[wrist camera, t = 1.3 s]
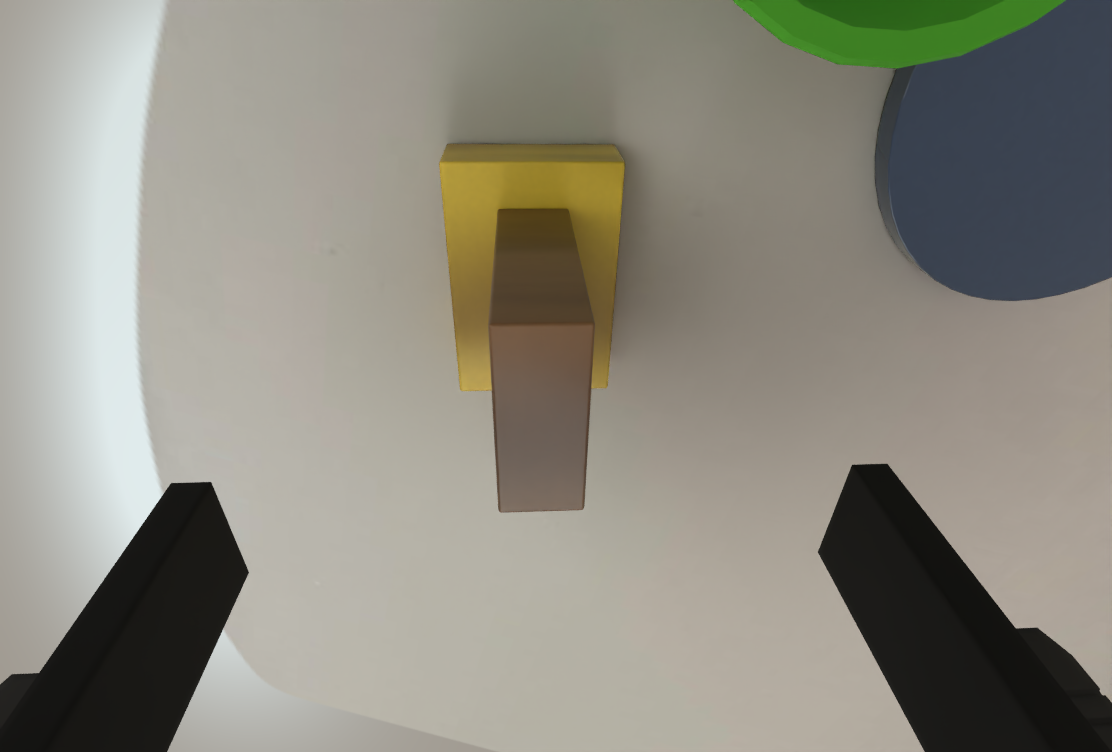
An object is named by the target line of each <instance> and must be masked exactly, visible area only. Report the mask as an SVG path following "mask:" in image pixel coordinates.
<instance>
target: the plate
mask: <svg viewBox="0 0 1112 752" xmlns="http://www.w3.org/2000/svg"><path fill="white" fill-rule="evenodd" d="M875 183H876V190H877V196H878V202H879V207H880V210H881V213H882V216H883V219H884V222H885V225H886V228H887V229H888V231H889V233H890V235H891V237H892V239H893V241H894V242H895V244H896V245H897V247H898V248H899V249H900V250H901V252H902V253H903V254H904V255H905V256H906V258H907V259H908V260H910V261H911V262H912V263H913V264H914V265H915V266H917V267H918V268H919V269H920V270H921V271H923V272H924V273H925V274H927V275H928V276H930V277H931V278H932V279H934V280H936V281H937V282H939V283H941V284H943V285H944V286H946V287H948V288H950V289H952V290H954V291H957V292H960V293H963V294H965V295H968V296H972V297H978V298H983V299H988V300H1003V301H1019V300H1033V299H1040V298H1045V297H1051V296H1056V295H1061V294H1064V293H1068V292H1071V291H1075V290H1078V289H1082V288H1085V287H1088V286H1090V285H1093V284H1095V283H1098V282H1101V281H1103V280H1106V279H1109V278H1111V277H1112V0H1065V1H1064V2H1063V3H1061V4H1060V5H1058V6H1057V7H1055V8H1054V9H1052V10H1051V11H1050V12H1048V13H1047V14H1045V15H1044V16H1042V17H1041V18H1039V19H1038V20H1036V21H1035V22H1033V23H1032V24H1030V25H1028V26H1026V27H1024V28H1022V29H1020V30H1017V31H1015V32H1013V33H1011V34H1009V35H1006V36H1004V37H1002V38H1000V39H997V40H995V41H993V42H991V43H988V44H986V45H984V46H982V47H979V48H977V49H975V50H973V51H970V52H968V53H966V54H964V55H962V56H957V57H952V58H947V59H942V60H937V61H932V62H927V63H922V64H917V65H912V66H907V67H902V68H897V70H896V73H895V75H894V78H893V81H892V84H891V87H890V89H889V92H888V95H887V98H886V101H885V105H884V109H883V113H882V117H881V121H880V125H879V129H878V138H877V146H876V154H875Z"/></svg>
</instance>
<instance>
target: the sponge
mask: <svg viewBox="0 0 1112 752" xmlns="http://www.w3.org/2000/svg"><path fill="white" fill-rule="evenodd" d="M439 167H440V178H441V189H442V200H443V210H444V221H445V232H446V242H447V253H448V264H449V275H450V285H451V296H452V307H453V318H454V328H455V339H456V350H457V361H458V371H459V382H460V390H461V391H488V390H492V404H493V422H494V439H495V457H496V475H497V492H498V509H499V511H500V512H533V511H565V510H583V508H584V502H585V486H586V469H587V452H588V435H589V419H590V402H591V388H607V386H608V376H609V363H610V350H611V337H612V325H613V312H614V299H615V286H616V274H617V261H618V248H619V236H620V223H621V210H622V197H623V185H624V172H625V162H624V160H623V159H622V157H621V155H620V154H619V152H618V150H617V148H616V147H615V145H613V144H447V146H446V148H445V150H444V153H443V155H442V158H441V160H440V163H439Z"/></svg>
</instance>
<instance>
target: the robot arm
mask: <svg viewBox="0 0 1112 752" xmlns="http://www.w3.org/2000/svg"><path fill="white" fill-rule="evenodd" d="M818 553H819V555H820V557H821V559H822V561H823V562H824V564H825V566H826V568H827V570H828V572H829V574H830V576H831V577H832V579H833V581H834V583H835V585H836V587H837V589H838V591H839V592H840V594H841V596H842V598H843V600H844V602H845V604H846V605H847V607H848V609H849V611H850V613H851V615H852V617H853V619H854V620H855V622H856V624H857V626H858V628H859V630H860V632H861V633H862V635H863V637H864V639H865V641H866V643H867V645H868V647H869V648H870V650H871V652H872V654H873V656H874V658H875V660H876V662H877V663H878V665H879V667H880V669H881V671H882V673H883V675H884V676H885V678H886V680H887V682H888V684H889V686H890V688H891V690H892V691H893V693H894V695H895V697H896V699H897V701H898V703H899V705H900V706H901V708H902V710H903V712H904V714H905V716H906V718H907V719H908V721H909V723H910V725H911V727H912V729H913V731H914V733H915V734H916V736H917V738H918V740H919V742H920V744H921V746H922V748H923V749H924V751H925V752H1112V703H1111V702H1110V700H1109V699H1108V698H1107V697H1106V696H1105V695H1104V696H1103V695H1102V694H1101V693H1100V691H1099V690H1100V688H1099V687H1098V686H1097V685H1096V683H1095V682H1094V681H1093V680H1092V679H1091V677H1090V676H1089V675H1088V674H1087V673H1086V671H1085V670H1084V669H1083V668H1082V667H1081V665H1080V664H1079V663H1078V662H1077V661H1076V659H1075V658H1074V657H1073V656H1072V655H1071V654H1070V653H1068V652H1067V651H1066V650H1065V649H1063V648H1062V647H1061V646H1060V645H1058V644H1057V643H1056V642H1055V641H1053V640H1052V639H1051V638H1050V637H1048V636H1047V635H1046V634H1044V633H1043V632H1042V631H1041V630H1039V629H1038V628H1019V629H1016V628H1015V627H1014V626H1013V624H1012V623H1011V622H1010V621H1009V619H1008V618H1007V617H1006V615H1005V614H1004V613H1003V612H1002V610H1001V609H1000V608H999V606H998V605H997V604H996V603H995V601H994V600H993V599H992V598H991V596H990V595H989V594H988V592H987V591H986V590H985V589H984V587H983V586H982V585H981V583H980V582H979V581H978V580H977V578H976V577H975V576H974V574H973V573H972V572H971V571H970V569H969V568H968V567H967V565H966V564H965V563H964V562H963V560H962V559H961V558H960V556H959V555H958V554H957V553H956V551H955V550H954V549H953V547H952V546H951V545H950V544H949V542H948V541H947V540H946V539H945V537H944V536H943V535H942V533H941V532H940V531H939V530H938V528H937V527H936V526H935V524H934V523H933V522H932V521H931V519H930V518H929V517H928V515H927V514H926V513H925V512H924V510H923V509H922V508H921V506H920V505H919V504H918V503H917V501H916V500H915V499H914V497H913V496H912V495H911V494H910V492H909V491H908V490H907V489H906V487H905V486H904V485H903V483H902V482H901V481H900V480H899V478H898V477H897V476H896V474H895V473H894V472H893V471H892V469H891V468H890V467H889V465H888V464H863V465H852V467H851V469H850V472H849V474H848V477H847V479H846V482H845V484H844V487H843V490H842V492H841V495H840V497H839V500H838V502H837V505H836V507H835V510H834V513H833V515H832V518H831V520H830V523H829V525H828V528H827V530H826V533H825V536H824V538H823V541H822V543H821V546H820V548H819V551H818ZM248 573H249V572H248V569H247V567H246V564H245V562H244V560H243V557H242V555H241V553H240V550H239V548H238V545H237V543H236V541H235V538H234V536H233V533H232V531H231V529H230V526H229V524H228V521H227V519H226V517H225V514H224V512H223V509H222V507H221V505H220V502H219V500H218V498H217V495H216V493H215V490H214V488H213V486H212V483H211V482H199V483H171V484H170V486H169V487H168V488H167V490H166V491H165V493H164V494H163V496H162V497H161V499H160V500H159V502H158V503H157V504H156V506H155V507H154V509H153V510H152V512H151V513H150V515H149V516H148V517H147V519H146V520H145V522H144V523H143V524H142V526H141V527H140V529H139V530H138V532H137V533H136V534H135V536H134V537H133V539H132V540H131V542H130V543H129V545H128V546H127V547H126V549H125V550H124V552H123V553H122V555H121V556H120V557H119V559H118V560H117V562H116V563H115V565H114V566H113V568H112V569H111V570H110V572H109V573H108V575H107V576H106V578H105V579H104V581H103V582H102V584H101V585H100V586H99V588H98V589H97V591H96V592H95V594H94V595H93V596H92V598H91V599H90V601H89V602H88V604H87V605H86V607H85V608H84V609H83V611H82V612H81V614H80V615H79V616H78V618H77V620H76V621H75V622H74V624H73V625H72V627H71V628H70V630H69V631H68V632H67V634H66V635H65V637H64V638H63V640H62V641H61V642H60V644H59V645H58V647H57V648H56V650H55V651H54V653H53V654H52V655H51V657H50V658H49V660H48V661H47V663H46V664H45V665H44V667H43V668H42V670H41V671H40V673H33V674H12V675H11V676H9V677H8V678H7V679H6V680H5V681H4V682H3V683H1V684H0V752H167V751H168V748H169V746H170V744H171V742H172V740H173V737H174V735H175V733H176V731H177V728H178V727H179V724H180V722H181V720H182V718H183V716H184V713H185V711H186V709H187V707H188V705H189V702H190V700H191V698H192V696H193V694H194V691H195V689H196V687H197V685H198V683H199V681H200V678H201V676H202V674H203V672H204V670H205V667H206V665H207V663H208V661H209V658H210V656H211V654H212V652H213V650H214V648H215V645H216V643H217V641H218V639H219V637H220V635H221V632H222V630H223V628H224V626H225V624H226V621H227V619H228V617H229V615H230V613H231V610H232V608H233V606H234V604H235V602H236V599H237V597H238V595H239V593H240V591H241V589H242V586H243V584H244V582H245V580H246V578H247V575H248Z"/></svg>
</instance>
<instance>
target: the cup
mask: <svg viewBox="0 0 1112 752" xmlns="http://www.w3.org/2000/svg"><path fill="white" fill-rule="evenodd" d="M733 1H734V2H735V3H736V4H737V5H738V6H739V7H740V8H742V9H743V10H744V11H745V12H746V13H748V14H749V15H750V16H751V17H753V18H754V19H755V20H756V21H757V22H759V23H760V24H761V25H762V26H763V27H765V28H766V29H767V30H768V31H770V32H771V33H772V34H773V35H774V36H776V37H777V38H778V39H779V40H780V41H782V42H783V43H785V44H788V45H790V46H793V47H795V48H798V49H800V50H803V51H805V52H808V53H811V54H813V55H816V56H818V57H821V58H823V59H826V60H828V61H831V62H833V63H836V64H841V65H855V66H869V67H883V68H902V67H907V66H912V65H917V64H922V63H927V62H932V61H937V60H942V59H947V58H952V57H957V56H962V55H964V54H966V53H968V52H970V51H973V50H975V49H977V48H979V47H982V46H984V45H986V44H988V43H991V42H993V41H995V40H997V39H1000V38H1002V37H1004V36H1006V35H1009V34H1011V33H1013V32H1015V31H1017V30H1020V29H1022V28H1024V27H1026V26H1028V25H1030V24H1032V23H1033V22H1035V21H1036V20H1038V19H1039V18H1041V17H1042V16H1044V15H1045V14H1047V13H1048V12H1050V11H1051V10H1052V9H1054V8H1055V7H1057V6H1058V5H1060V4H1061V3H1063V2H1064V1H1065V0H733Z"/></svg>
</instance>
